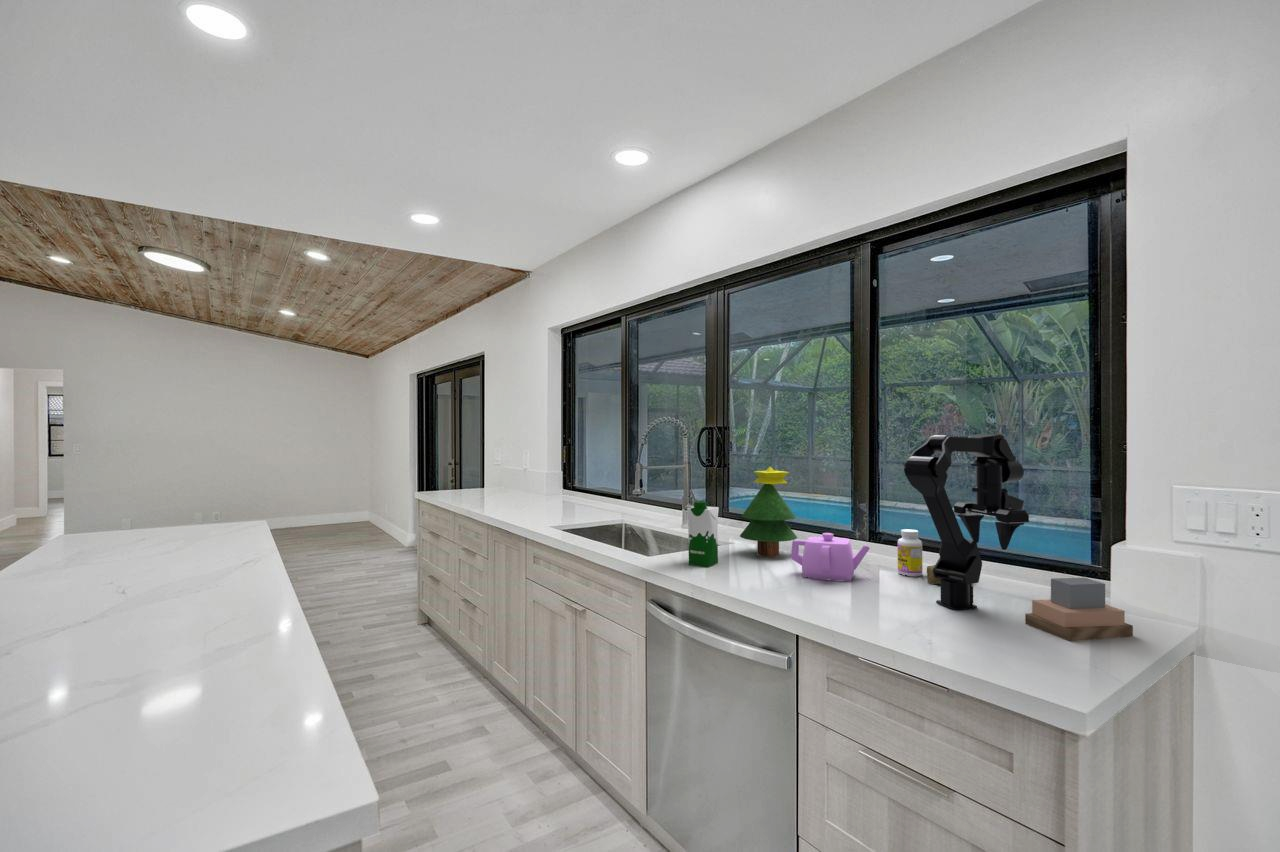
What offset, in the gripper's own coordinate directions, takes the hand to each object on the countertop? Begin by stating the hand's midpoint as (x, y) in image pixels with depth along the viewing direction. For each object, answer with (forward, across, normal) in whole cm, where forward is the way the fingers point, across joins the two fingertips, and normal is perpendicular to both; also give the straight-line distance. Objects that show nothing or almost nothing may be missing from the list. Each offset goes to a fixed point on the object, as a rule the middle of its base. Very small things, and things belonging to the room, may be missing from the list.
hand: (989, 546), depth 150 cm
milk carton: (+13, +52, +59) cm, 80 cm away
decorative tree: (+13, +61, +33) cm, 71 cm away
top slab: (+11, -24, 0) cm, 27 cm away
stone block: (+14, +16, 0) cm, 21 cm away
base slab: (+14, -24, 0) cm, 28 cm away
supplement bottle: (+13, +26, +4) cm, 30 cm away
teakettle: (+13, +30, +27) cm, 43 cm away
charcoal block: (+8, -24, 0) cm, 26 cm away
